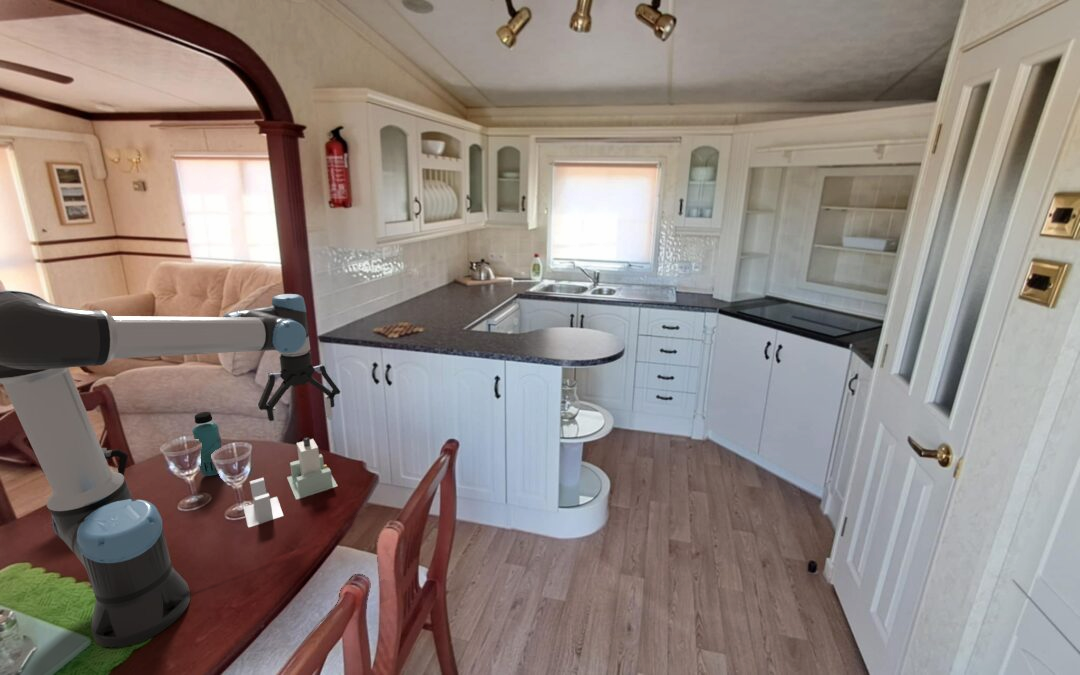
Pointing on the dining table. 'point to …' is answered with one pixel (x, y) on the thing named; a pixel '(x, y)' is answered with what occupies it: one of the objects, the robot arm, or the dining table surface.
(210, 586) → the dining table surface
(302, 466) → the white tall block
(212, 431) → the beverage bottle
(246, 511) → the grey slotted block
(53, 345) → the robot arm
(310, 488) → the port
